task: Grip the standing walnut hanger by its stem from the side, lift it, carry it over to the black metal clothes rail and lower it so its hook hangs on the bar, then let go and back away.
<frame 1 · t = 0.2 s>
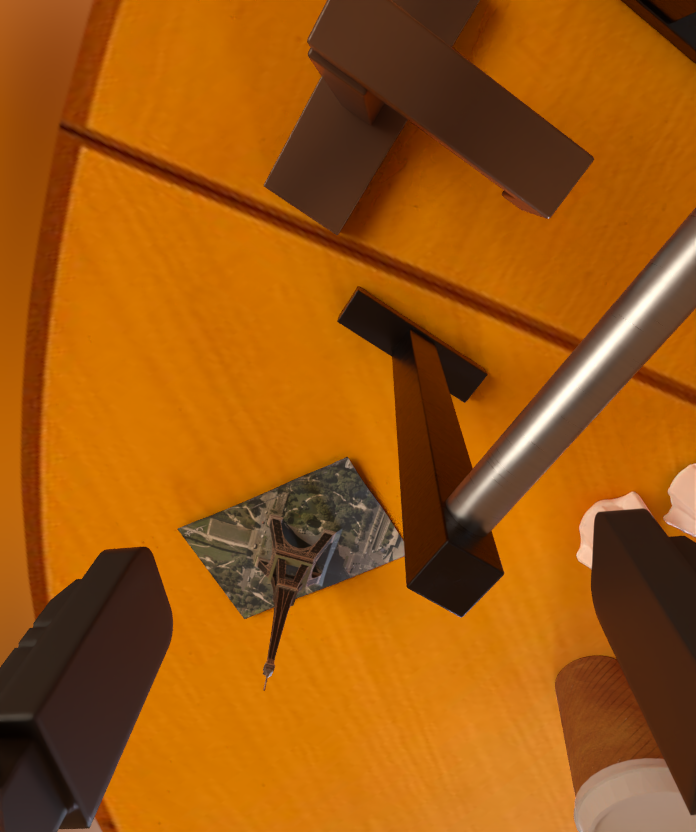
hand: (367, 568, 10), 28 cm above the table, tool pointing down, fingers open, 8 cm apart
hanger: (368, 96, 32), on the table
disposable coffee cup: (591, 680, 49), on the table
rack: (521, 191, 33), on the table
shaker set: (644, 499, 41), on the table
eiffel tower figurine: (295, 537, 44), on the table
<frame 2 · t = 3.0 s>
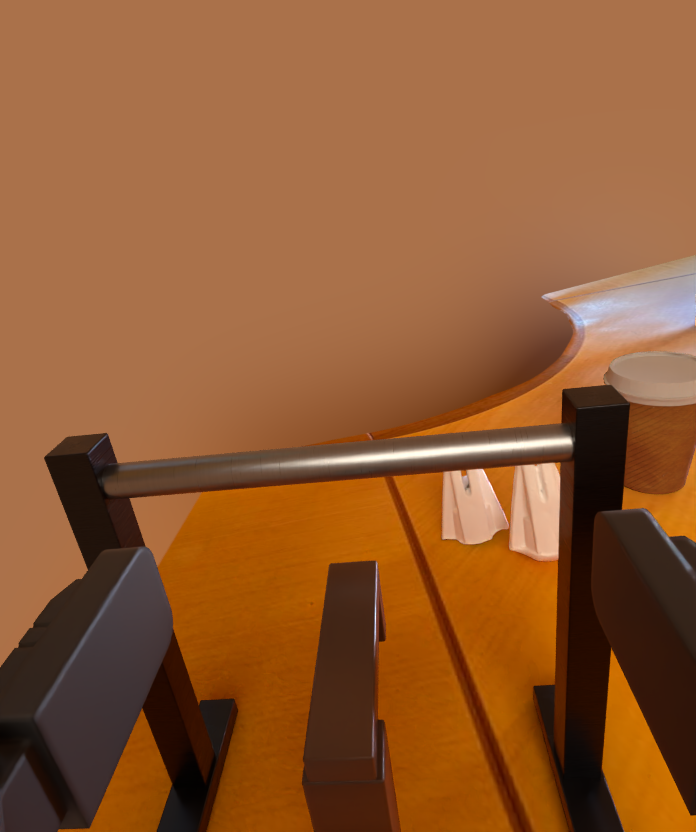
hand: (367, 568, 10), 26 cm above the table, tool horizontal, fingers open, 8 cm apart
disposable coffee cup: (649, 479, 58), on the table
rack: (381, 779, 33), on the table
shaker set: (509, 547, 51), on the table
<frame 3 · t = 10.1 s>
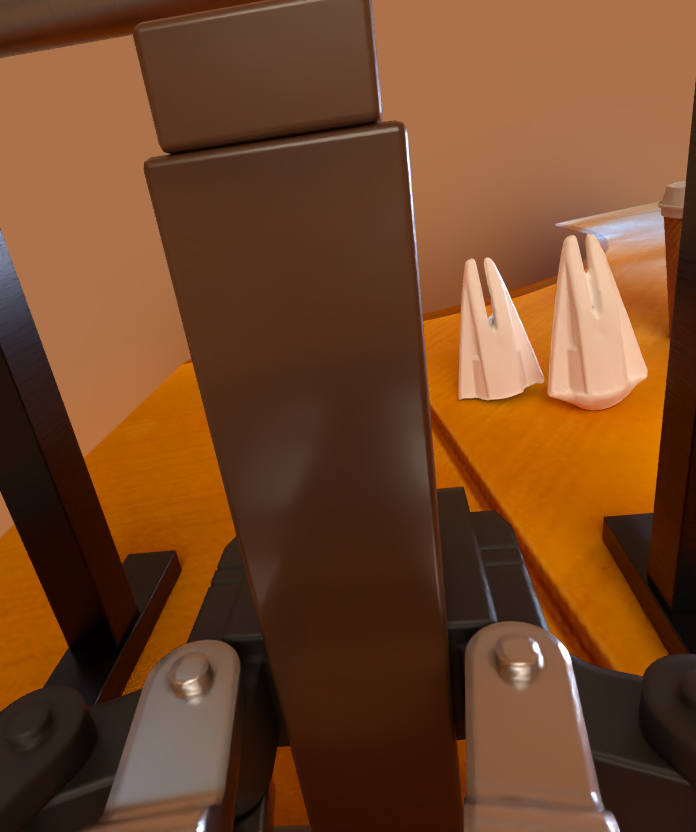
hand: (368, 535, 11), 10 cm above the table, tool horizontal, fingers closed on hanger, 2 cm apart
rack: (384, 636, 22), on the table
shaker set: (545, 402, 40), on the table
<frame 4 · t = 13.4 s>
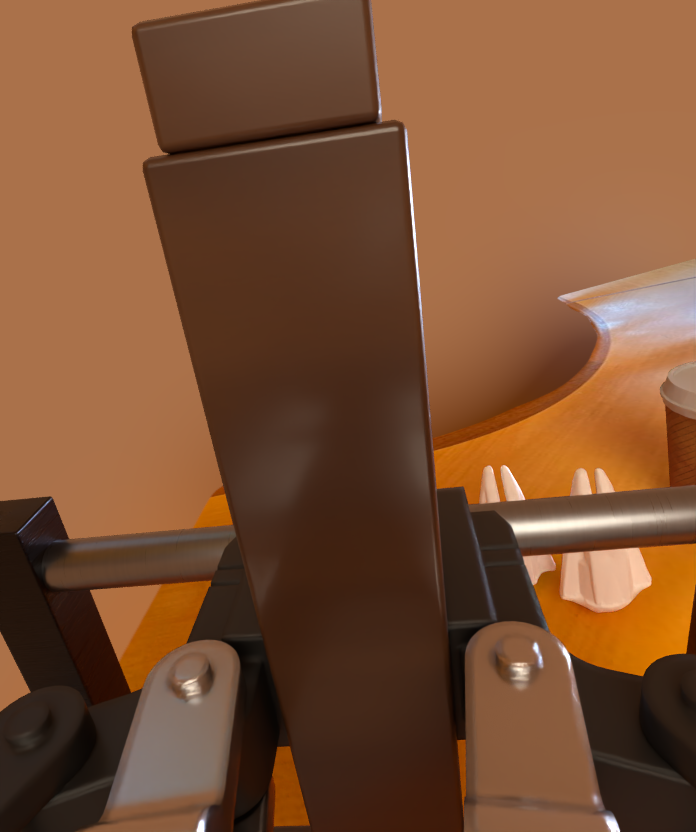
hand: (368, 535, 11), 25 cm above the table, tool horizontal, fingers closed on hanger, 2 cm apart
shaker set: (557, 592, 43), on the table
when the fingers open (15 cm above the table, at t = 16.9 s): hanger moves 8 cm, resting on rack.
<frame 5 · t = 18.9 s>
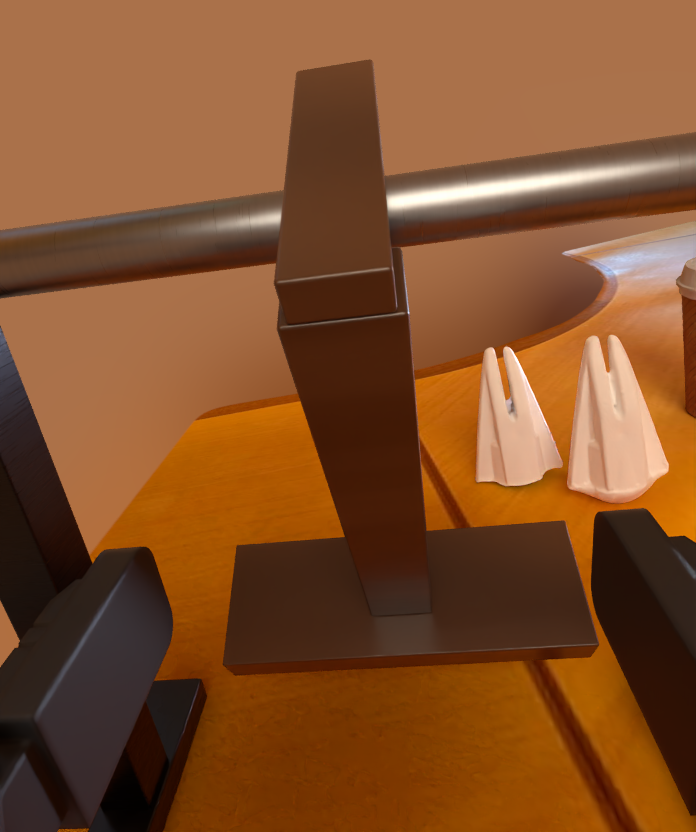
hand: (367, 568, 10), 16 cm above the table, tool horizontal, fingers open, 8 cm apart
hanger: (402, 604, 24), point 5 cm above the table, tilted 28°, touching rack
rack: (417, 795, 22), on the table
shaker set: (564, 489, 40), on the table
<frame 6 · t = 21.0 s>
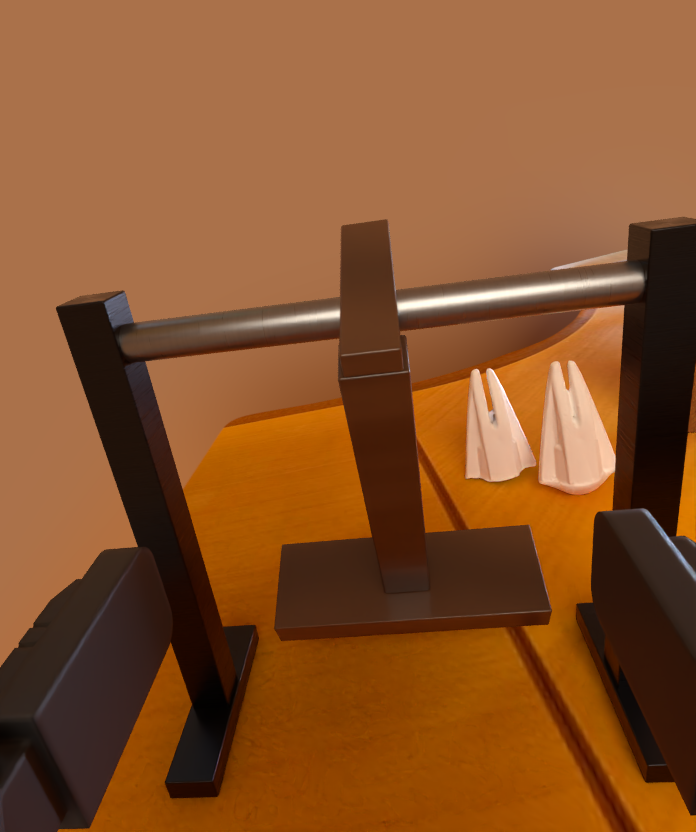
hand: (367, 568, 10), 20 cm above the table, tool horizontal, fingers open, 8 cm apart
hanger: (408, 588, 32), point 5 cm above the table, tilted 22°, touching rack
rack: (417, 697, 31), on the table
shaker set: (537, 483, 49), on the table
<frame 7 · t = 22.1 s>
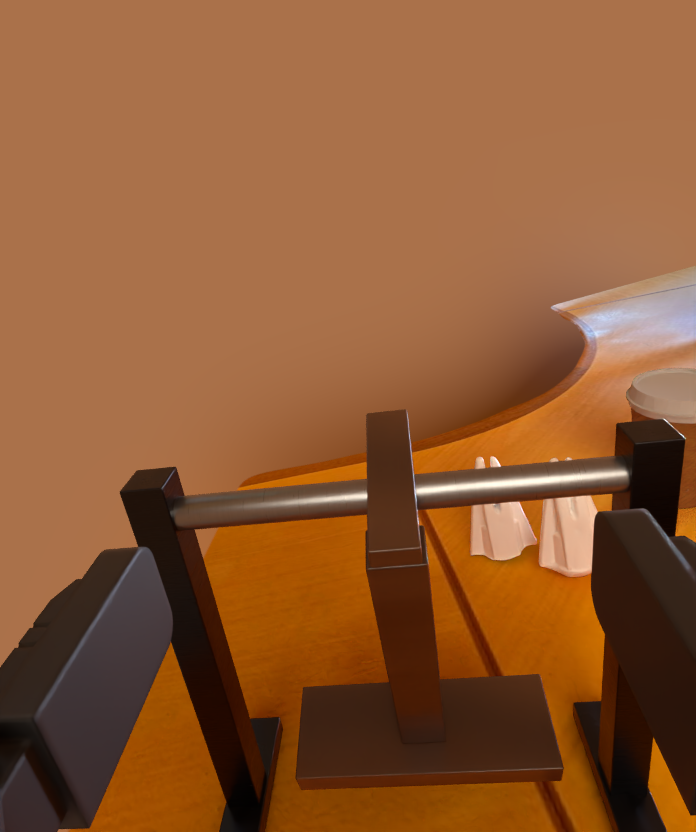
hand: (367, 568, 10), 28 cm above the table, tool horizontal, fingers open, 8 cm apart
hanger: (424, 736, 33), point 5 cm above the table, tilted 14°, touching rack
disposable coffee cup: (671, 493, 59), on the table
rack: (429, 796, 34), on the table
shaker set: (538, 562, 52), on the table
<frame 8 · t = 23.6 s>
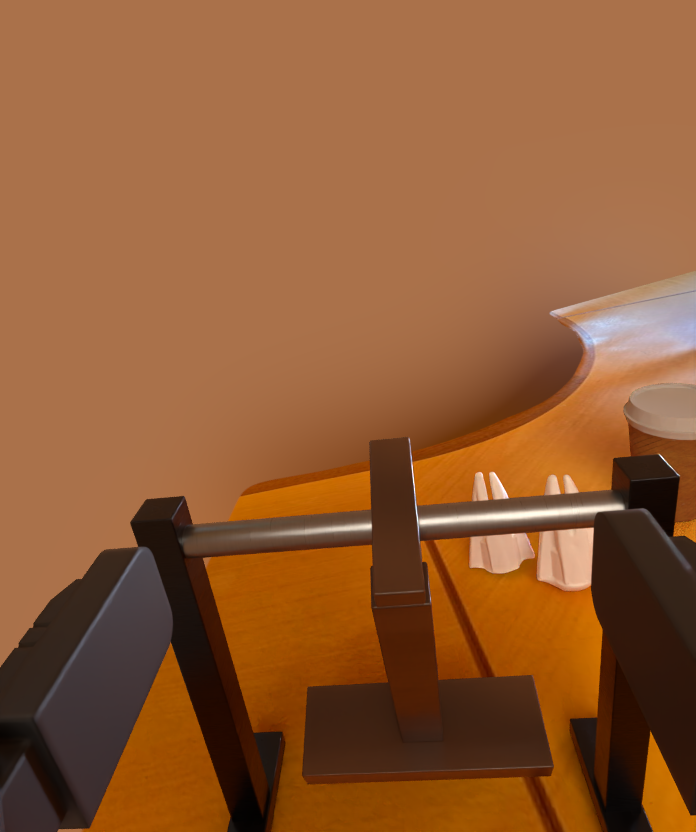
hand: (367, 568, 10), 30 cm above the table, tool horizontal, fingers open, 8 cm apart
hanger: (422, 733, 35), point 5 cm above the table, tilted 18°, touching rack
disposable coffee cup: (667, 506, 60), on the table
rack: (429, 811, 35), on the table
shaker set: (535, 575, 53), on the table
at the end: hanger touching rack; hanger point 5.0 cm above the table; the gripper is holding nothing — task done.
